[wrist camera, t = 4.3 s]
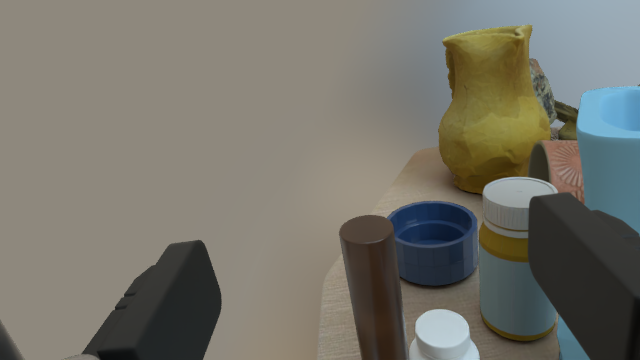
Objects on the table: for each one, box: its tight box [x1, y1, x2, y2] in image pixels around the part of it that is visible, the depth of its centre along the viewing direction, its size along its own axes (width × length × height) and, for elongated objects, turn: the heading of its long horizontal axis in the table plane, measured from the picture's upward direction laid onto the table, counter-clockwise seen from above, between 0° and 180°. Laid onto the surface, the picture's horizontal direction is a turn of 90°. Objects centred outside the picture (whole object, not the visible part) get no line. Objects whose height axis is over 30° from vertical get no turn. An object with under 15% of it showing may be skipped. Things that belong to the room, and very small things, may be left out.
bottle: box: [479, 177, 558, 341], centre depth 40 cm, size 7×7×15 cm
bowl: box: [387, 201, 478, 286], centre depth 53 cm, size 11×11×6 cm
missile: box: [554, 100, 579, 140], centre depth 81 cm, size 7×25×7 cm, turn 9°
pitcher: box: [438, 25, 551, 194], centre depth 68 cm, size 17×19×25 cm
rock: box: [529, 59, 557, 125], centre depth 80 cm, size 14×17×10 cm
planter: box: [527, 140, 585, 204], centre depth 53 cm, size 12×12×11 cm
